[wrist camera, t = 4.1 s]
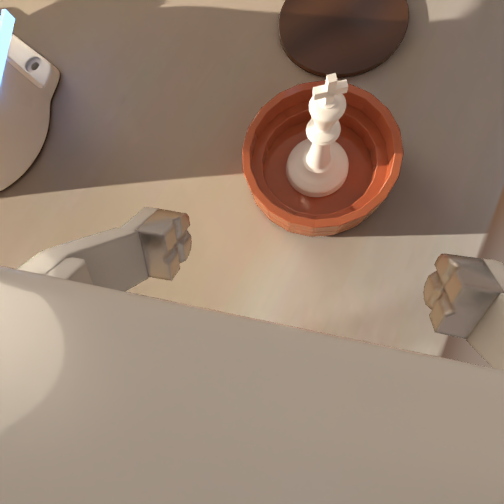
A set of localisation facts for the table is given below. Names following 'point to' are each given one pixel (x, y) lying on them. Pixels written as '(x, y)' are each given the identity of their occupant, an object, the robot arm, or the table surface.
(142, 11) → the table surface
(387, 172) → the dish
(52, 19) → the table surface
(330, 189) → the chess piece
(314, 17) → the coaster
